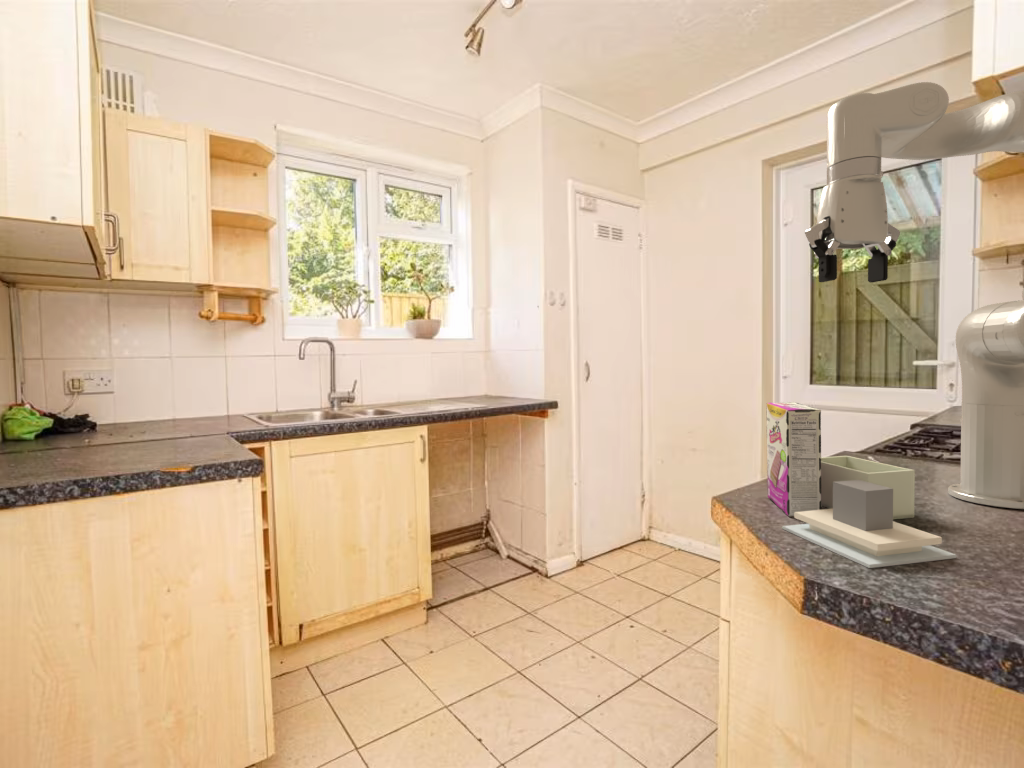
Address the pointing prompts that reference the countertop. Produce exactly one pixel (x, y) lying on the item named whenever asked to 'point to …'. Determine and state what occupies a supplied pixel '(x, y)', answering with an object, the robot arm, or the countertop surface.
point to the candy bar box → (794, 456)
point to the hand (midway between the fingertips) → (852, 281)
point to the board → (864, 557)
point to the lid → (866, 520)
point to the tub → (869, 480)
